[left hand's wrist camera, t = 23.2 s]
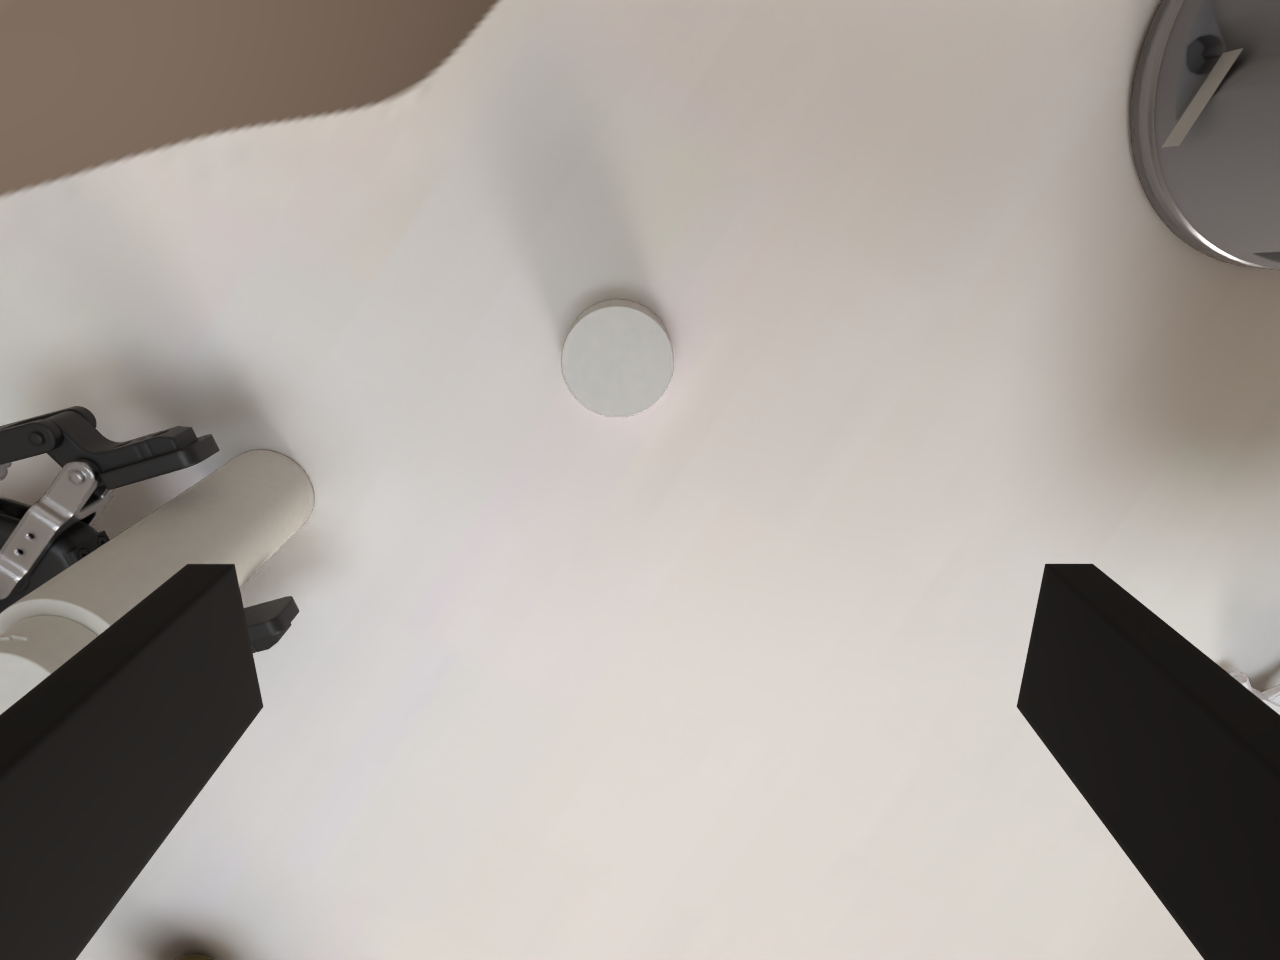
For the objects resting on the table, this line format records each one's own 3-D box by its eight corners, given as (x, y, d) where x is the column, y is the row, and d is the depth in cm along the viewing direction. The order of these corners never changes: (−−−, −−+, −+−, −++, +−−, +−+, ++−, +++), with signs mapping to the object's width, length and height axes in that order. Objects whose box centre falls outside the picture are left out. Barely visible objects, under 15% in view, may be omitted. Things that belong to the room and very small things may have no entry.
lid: (593, 420, 37) (591, 435, 35) (546, 327, 35) (541, 335, 33) (687, 378, 36) (691, 390, 34) (644, 280, 35) (645, 286, 32)
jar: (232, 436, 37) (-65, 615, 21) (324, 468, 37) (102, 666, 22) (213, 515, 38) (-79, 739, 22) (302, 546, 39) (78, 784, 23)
